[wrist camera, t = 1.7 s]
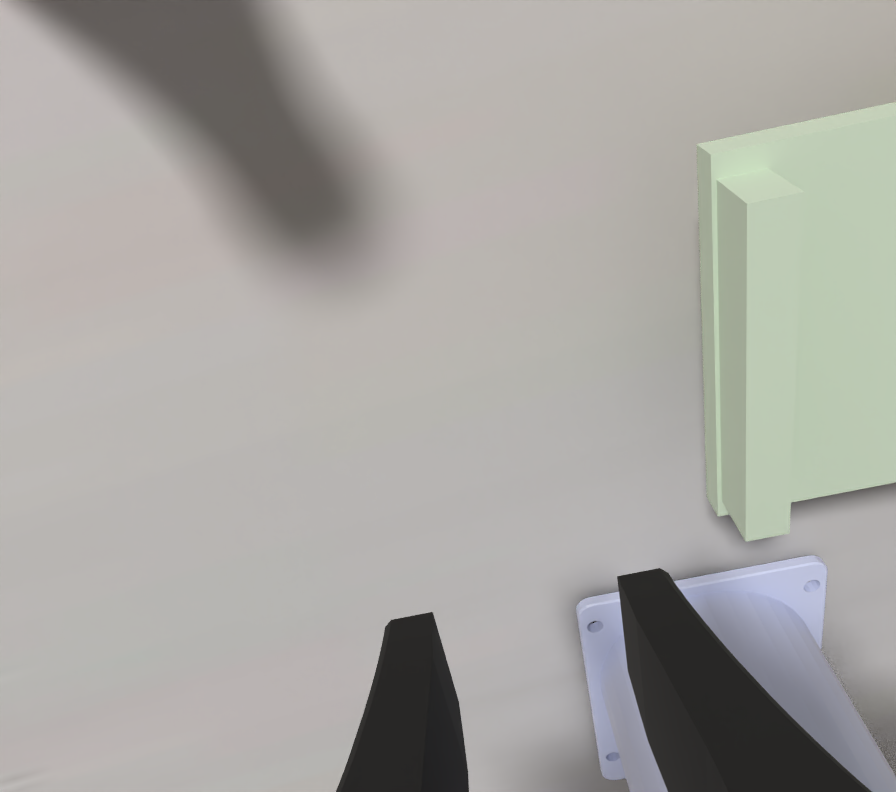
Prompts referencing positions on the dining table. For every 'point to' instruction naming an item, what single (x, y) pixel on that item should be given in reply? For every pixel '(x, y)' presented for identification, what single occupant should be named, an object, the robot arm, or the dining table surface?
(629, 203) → the dining table surface
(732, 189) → the sage lid
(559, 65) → the dining table surface
